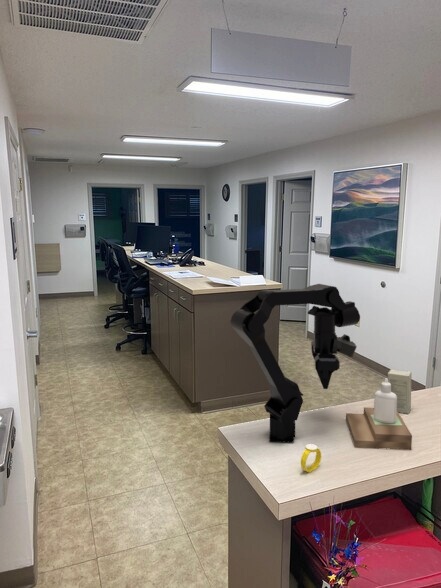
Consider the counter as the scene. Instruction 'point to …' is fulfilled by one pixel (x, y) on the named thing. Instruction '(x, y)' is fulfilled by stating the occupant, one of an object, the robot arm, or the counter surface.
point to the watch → (305, 454)
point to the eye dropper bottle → (385, 404)
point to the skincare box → (401, 389)
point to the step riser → (378, 431)
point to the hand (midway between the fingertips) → (323, 382)
